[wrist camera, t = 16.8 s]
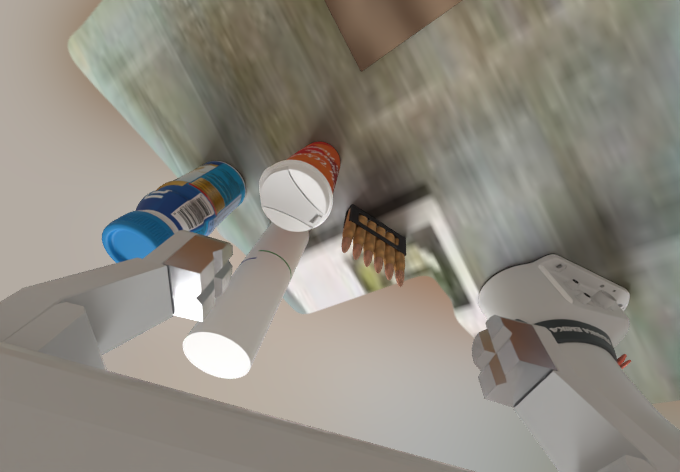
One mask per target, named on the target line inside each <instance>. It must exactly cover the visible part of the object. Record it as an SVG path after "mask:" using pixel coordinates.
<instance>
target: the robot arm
mask: <svg viewBox="0 0 680 472" xmlns="http://www.w3.org/2000/svg"><path fill="white" fill-rule="evenodd" d="M232 255H233V246H232V245H231V243H228V242H225V241H221V240H218V239H214V238H211V237H208V236H204V235H201V234H197V233H193V232H190V231H186V230H179V231H178V232H176V233H175V234H174V235H173V236H171V237H170V238H169V239H167V240H166V241H165V242H164V243H162V244H161V245H160V246H159V247H157V248H156V249H155V250H153V251H152V252H151V253H150V254H148V255H147V256H146V257H144V258H143V259H141V258H134V259H130V260H126V261H123V262H119V263H116V264H111V265H108V266H104V267H100V268H96V269H93V270H89V271H86V272H82V273H78V274H74V275H70V276H66V277H63V278H59V279H55V280H51V281H48V282H44V283H40V284H36V285H33V286H29V287H25V288H22V289H21V290H19V291H17V292H16V293H14V294H12V295H11V296H9V297H7V298H6V299H4V300H2V301H1V302H0V472H475V471H472V470H468V469H464V468H460V467H457V466H453V465H450V464H446V463H442V462H439V461H435V460H431V459H428V458H424V457H420V456H417V455H413V454H409V453H406V452H402V451H398V450H395V449H391V448H388V447H384V446H380V445H377V444H373V443H370V442H366V441H362V440H359V439H355V438H351V437H348V436H344V435H340V434H337V433H333V432H329V431H326V430H322V429H318V428H314V427H311V426H307V425H303V424H300V423H296V422H293V421H289V420H285V419H282V418H278V417H274V416H271V415H267V414H263V413H260V412H256V411H252V410H248V409H245V408H242V407H238V406H234V405H230V404H227V403H223V402H220V401H216V400H212V399H209V398H205V397H201V396H198V395H194V394H191V393H187V392H183V391H180V390H176V389H172V388H169V387H165V386H162V385H158V384H154V383H150V382H147V381H143V380H140V379H136V378H132V377H129V376H125V375H121V374H118V373H114V372H110V371H107V369H106V366H105V363H104V360H103V358H102V355H103V354H105V353H107V352H109V351H110V350H112V349H114V348H116V347H118V346H120V345H122V344H123V343H125V342H127V341H129V340H131V339H133V338H134V337H136V336H138V335H140V334H142V333H144V332H145V331H147V330H149V329H151V328H153V327H155V326H156V325H158V324H160V323H162V322H164V321H166V320H167V319H169V318H171V317H173V315H176V316H181V317H185V318H189V319H193V320H197V321H201V322H203V320H204V319H205V318H206V316H207V315H208V314H209V312H210V311H211V310H212V308H213V307H214V305H215V298H216V297H218V296H220V295H222V294H223V293H224V291H225V290H226V289H227V287H228V284H229V282H230V280H231V275H232V265H231V263H230V262H229V259H230V257H231V256H232ZM559 264H560V265H559ZM557 265H558V266H557ZM629 299H630V293H629V292H628V291H627V290H626V289H625V288H623V287H621V286H619V285H617V284H615V283H613V282H611V281H609V280H607V279H605V278H603V277H601V276H599V275H597V274H595V273H593V272H591V271H589V270H587V269H585V268H583V267H581V266H579V265H577V264H574V263H572V262H570V261H568V260H566V259H564V258H562V257H560V256H558V255H555V254H551V255H547V256H545V257H543V258H540V259H538V260H537V261H535V262H532V263H529V264H524V265H519V266H515V267H511V268H508V269H506V270H504V271H502V272H500V273H498V274H496V275H495V276H493V277H492V278H491V279H490V280H489V281H488V282H487V283H486V284H485V285H484V286H483V288H482V289H481V291H480V294H479V298H478V305H479V308H480V311H481V312H482V314H483V315H484V316H485V318H486V319H487V322H486V327H487V329H486V330H484V331H481V332H479V333H478V334H477V336H476V337H475V339H474V341H473V345H472V357H473V361H474V363H475V365H476V366H477V367H478V368H479V369H480V371H481V373H480V374H479V376H478V378H479V381H480V385H481V388H482V392H483V395H484V399H487V400H490V401H494V402H497V403H501V404H504V405H507V406H511V407H514V411H515V412H516V413H517V414H518V416H519V417H520V419H521V420H522V421H523V423H524V424H525V426H526V427H527V428H528V430H529V431H530V432H531V434H532V435H533V437H534V438H535V439H536V441H537V442H538V443H539V445H540V446H541V447H542V449H543V450H544V451H545V453H546V454H547V455H548V457H549V458H550V460H551V461H552V463H553V464H554V465H555V466H556V468H557V469H558V471H559V472H680V430H679V429H677V428H676V427H675V426H674V425H673V424H671V423H670V422H669V421H668V420H666V419H665V418H664V417H663V416H662V415H661V414H660V413H659V412H658V411H657V410H656V409H655V407H654V406H653V405H652V404H651V403H650V402H649V401H648V400H647V398H646V397H645V396H644V395H643V394H642V393H641V391H640V390H639V389H638V388H637V387H636V386H635V384H634V383H633V382H632V381H631V380H630V378H629V377H628V376H627V375H626V373H625V372H624V371H623V370H622V369H623V368H624V367H625V366H626V365H628V364H629V363H630V362H631V360H628V361H626V362H624V360H625V358H626V356H627V355H626V354H624V355H622V356H621V357H620V358H618V359H617V357H616V354H615V350H614V348H615V347H616V346H617V345H618V344H619V343H620V342H621V341H622V339H623V338H624V337H625V336H626V334H627V332H628V330H629V327H630V321H629V318H628V316H627V315H626V314H625V313H624V310H625V309H626V307H627V305H628V303H629ZM623 362H624V363H623ZM622 363H623V364H622ZM621 364H622V365H621Z"/></svg>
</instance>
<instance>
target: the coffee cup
mask: <svg viewBox="0 0 680 472" xmlns="http://www.w3.org/2000/svg"><path fill="white" fill-rule="evenodd" d="M339 169H340V158H339V155H338V153H337V151H336V150H335V148H334V147H332V146H331V145H330V144H328V143H325V142H314V143H311V144H309V145H307V146H306V147H304V148H303V149H301V150H300V151H298V152H297V153H295V154H294V155H292V156H291V157H289V158H288V159H287V160H284V161H280V162H277V163H275V164H274V165H272V166H270V167H268V168H266V170H265V171H264V172H263V174H262V176H261V178H260V181H259V190H260V198H261V206H262V209H263V211H264V213H265V214H266V216H267V217H268V218H269V219H270V220H271V221H272V222H273V223H274V224H276V225H277V226H279V227H281V228H283V229H285V230H288V231H294V232H301V231H307V230H310V229H312V228H315V227H317V226H319V225H320V224H322V223H323V222H324V221H325V220H326V219H327V217H328V216H329V214H330V212H331V209H332V206H333V192H334V188H335V184H336V181H337V177H338V173H339Z"/></svg>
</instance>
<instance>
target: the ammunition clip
mask: <svg viewBox="0 0 680 472" xmlns="http://www.w3.org/2000/svg"><path fill="white" fill-rule="evenodd" d="M343 228H344V230H343V239H342V251H343V253H346V252H347V251H348V249H349V247H350V245H351V242H352V239H353V257H354V259H355V260H357V259H358V258H359V256H360V254H361V251H362V247H363V249H364V263H365V266H366V267H368V266H369V265H370V263H371V261H372V255H374V266H375V270H376V272H377V273H380V271H381V269H382V266H383V259H384V264H385V274H386V277H387V279H388V280H391V278H392V276H393V271H394V270H395V276H396V281H397V284H398V285H399V286H400V287H401V286H402V285H403V282H404V269H405V258H404V256H406V238H404V237H403V236H401V235H400V234H398V233H397V232H395V231H393V230H392V229H390V228H389V227H387V226H386V225H384V224H383V223H381V222H379V221H378V220H376V219H375V218H373V217H372V216H370V215H369V214H367V213H365V212H364V211H362V210H361V209H359V208H358V207H356V206H355V205H351V206H350V208H349V209H348V210H347V212H346V216H345V221H344V227H343ZM353 237H354V238H353ZM363 244H364V245H363ZM373 251H374V252H373Z"/></svg>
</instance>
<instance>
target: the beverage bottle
mask: <svg viewBox="0 0 680 472" xmlns="http://www.w3.org/2000/svg"><path fill="white" fill-rule="evenodd" d="M245 194H246V187H245V183H244V180H243V178H242V176H241V175H240V174H239V172H238V171H237V170H236V169H235V168H233V167H232V166H231V165H229V164H227V163H224V162H221V161H210V162H207V163H205V164H203V165H202V166H200V167H198V168H196V169H195V170H193V171H191V172H189V173H187V174H185V175H183V176H181V177H179V178H177V179H176V180H173V181H170V182H167V183H165V184H163V185H162V186H160V187H159V188H158V189H157V190H156V191H153V192H151V193H149V194H147V195H146V196H145V197H144V198H143V199H142V200H141V201H140V203H139V204H138V206H137V208H136V211H133V212H130V213H127V214H125V215H123V216H121V217H120V218H118V219H116V220H114V221H113V222H111V223H110V224H109V225H108V226H107V227H106V228H105V229H104V231H103V233H102V242H103V245H104V248H105V249H106V251H107V253H108V254H109V255H110V257H111V258H112V259H113V260H114V261H115V262H116V263H119V262H123V261H126V260H130V259H134V258H141V259H143V258H144V257H146V256H147V255H148V254H150V253H151V252H152V251H153V250H155V249H156V248H157V247H159V246H160V245H161V244H162V243H164V242H165V241H166V240H167V239H169V238H170V237H171V236H173V235H174V234H175V233H176V232H178V231H179V230H186V231H190V232H193V233H197V234H201V235H204V236H208V235H209V234H210V233H211V232H213V230H214V229H215V227H216V226H217V225H219V224H220V223H221V222H222V221H223V220H224V219H225V218H226V217H227V216H228V215H229V214H230V213H231V212H232V211H233V210H234V209H235V208H236V207H238V206H239V205H240V204H241V203H242V202H243V200H244V198H245Z"/></svg>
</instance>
